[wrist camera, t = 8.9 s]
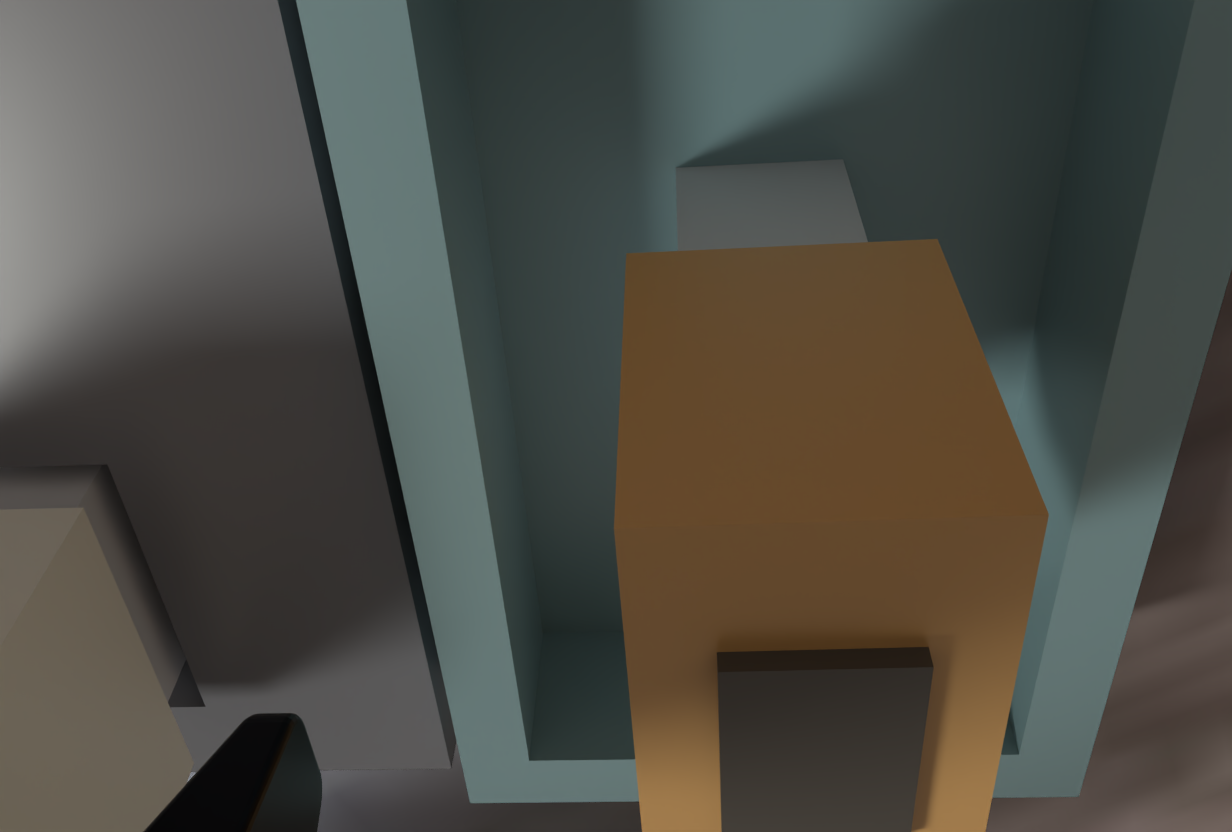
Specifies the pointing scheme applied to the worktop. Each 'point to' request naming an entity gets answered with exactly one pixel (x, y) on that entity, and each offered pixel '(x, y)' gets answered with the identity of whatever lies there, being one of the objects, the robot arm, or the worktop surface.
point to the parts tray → (647, 222)
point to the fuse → (82, 660)
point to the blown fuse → (813, 520)
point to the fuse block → (213, 362)
